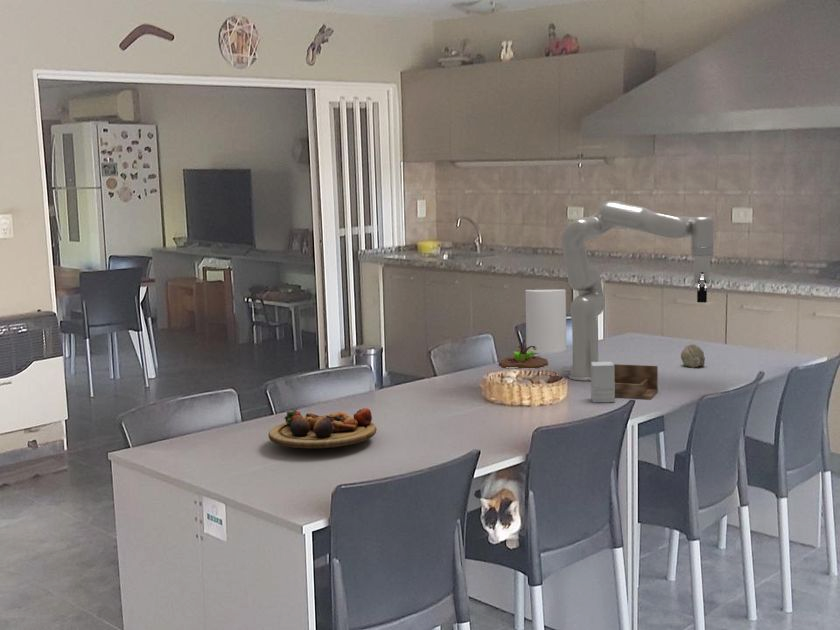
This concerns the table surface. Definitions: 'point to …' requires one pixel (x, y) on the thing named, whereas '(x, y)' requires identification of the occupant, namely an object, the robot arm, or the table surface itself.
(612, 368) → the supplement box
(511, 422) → the table surface
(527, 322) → the cylinder
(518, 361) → the plant
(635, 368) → the walnut caddy
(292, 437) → the wooden plate with food
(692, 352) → the round rough stone
